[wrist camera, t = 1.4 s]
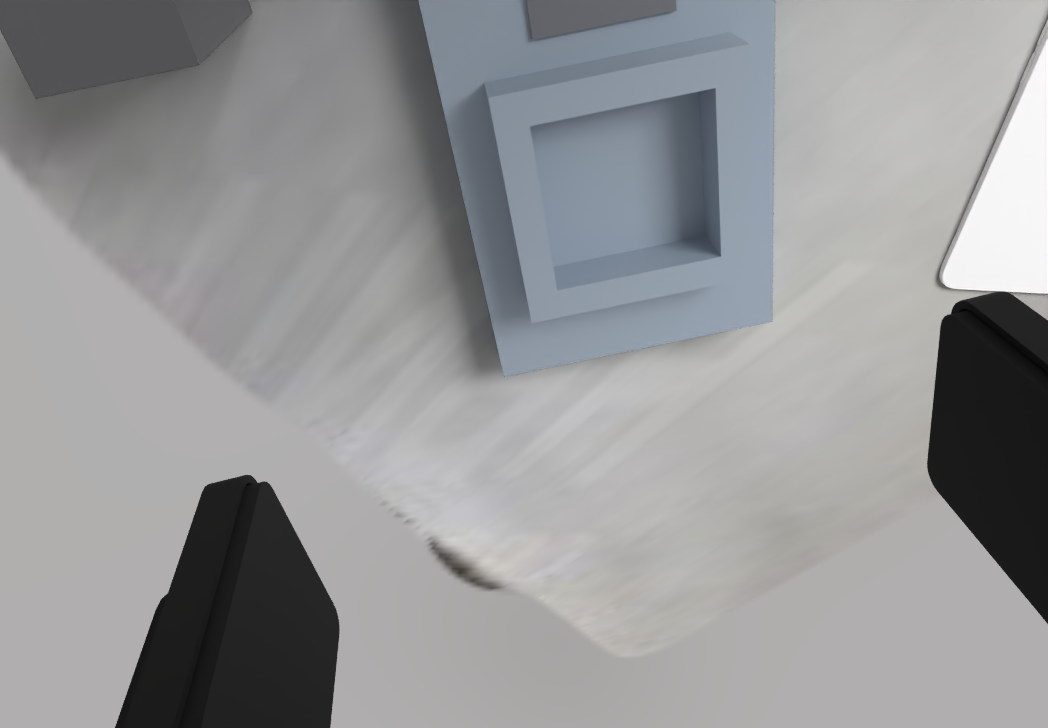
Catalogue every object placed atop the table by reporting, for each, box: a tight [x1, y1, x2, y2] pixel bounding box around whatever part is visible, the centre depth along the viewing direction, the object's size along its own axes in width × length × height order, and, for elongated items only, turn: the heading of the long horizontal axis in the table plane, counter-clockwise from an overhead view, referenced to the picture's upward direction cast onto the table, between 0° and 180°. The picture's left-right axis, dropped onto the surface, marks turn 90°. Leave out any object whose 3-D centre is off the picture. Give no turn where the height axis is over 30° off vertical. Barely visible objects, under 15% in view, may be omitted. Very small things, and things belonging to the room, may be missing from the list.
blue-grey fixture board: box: [418, 0, 775, 377], centre depth 28 cm, size 24×12×4 cm, turn 9°
